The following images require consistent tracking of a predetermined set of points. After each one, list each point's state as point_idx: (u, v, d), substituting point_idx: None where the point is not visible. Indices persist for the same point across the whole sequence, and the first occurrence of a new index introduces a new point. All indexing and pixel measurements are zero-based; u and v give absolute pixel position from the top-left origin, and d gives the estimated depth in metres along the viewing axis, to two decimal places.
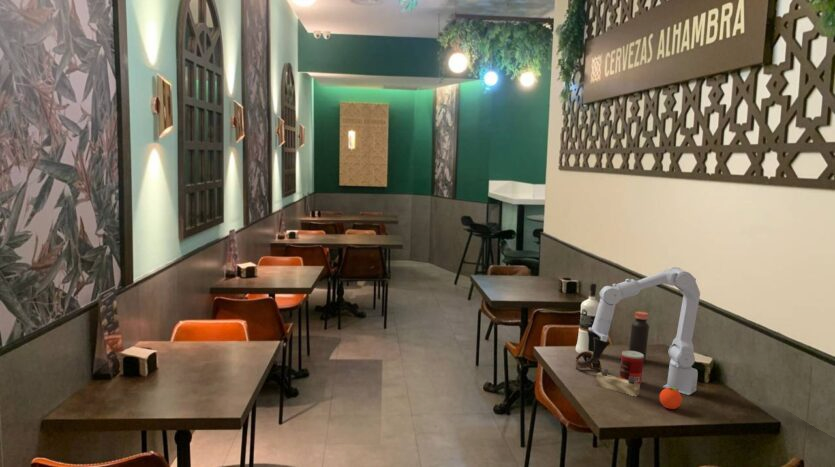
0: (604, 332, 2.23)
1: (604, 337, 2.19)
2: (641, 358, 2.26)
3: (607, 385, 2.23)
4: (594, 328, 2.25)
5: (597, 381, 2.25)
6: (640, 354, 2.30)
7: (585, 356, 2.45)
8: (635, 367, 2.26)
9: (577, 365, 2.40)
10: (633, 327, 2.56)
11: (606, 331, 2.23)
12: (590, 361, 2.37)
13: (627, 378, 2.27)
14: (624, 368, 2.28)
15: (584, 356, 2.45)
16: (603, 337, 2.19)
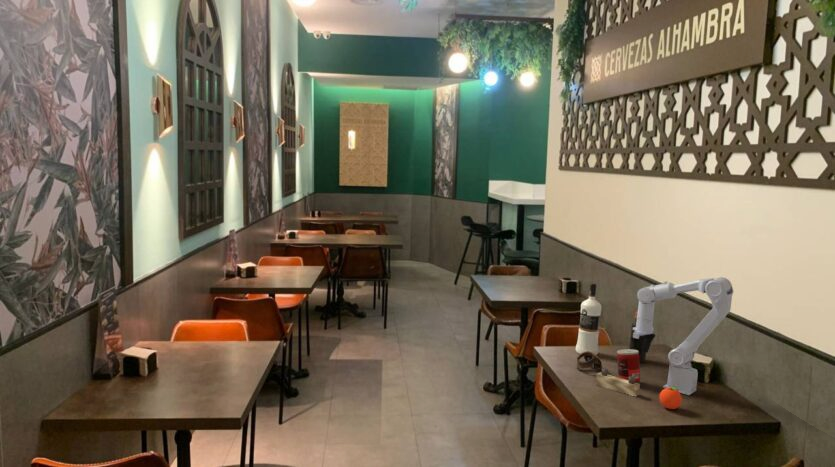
0: (643, 331, 2.32)
1: (635, 334, 2.29)
2: (637, 353, 2.28)
3: (607, 385, 2.23)
4: (636, 327, 2.35)
5: (597, 381, 2.25)
6: (635, 350, 2.31)
7: (586, 356, 2.45)
8: (633, 363, 2.27)
9: (578, 365, 2.40)
10: (633, 327, 2.56)
11: (645, 330, 2.32)
12: (591, 361, 2.37)
13: (627, 376, 2.27)
14: (622, 366, 2.28)
15: (584, 356, 2.45)
16: (634, 334, 2.29)
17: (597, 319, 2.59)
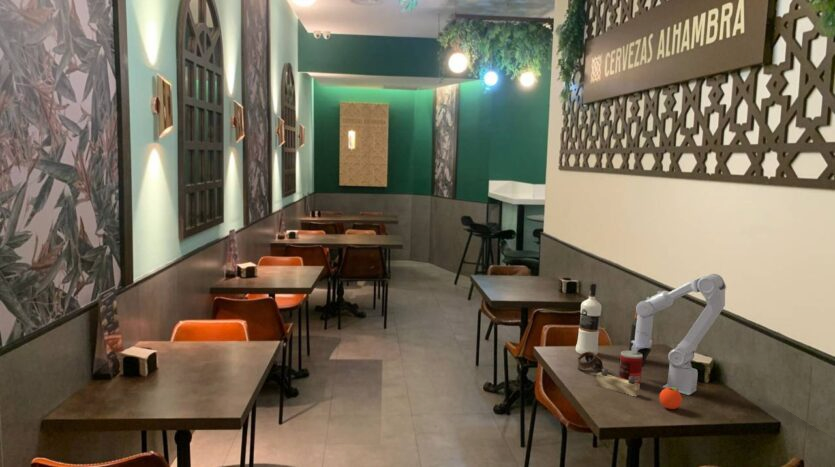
0: (641, 344, 2.32)
1: (633, 348, 2.30)
2: (640, 358, 2.26)
3: (607, 385, 2.23)
4: None
5: (597, 381, 2.25)
6: (639, 353, 2.30)
7: (587, 356, 2.45)
8: (635, 366, 2.26)
9: (579, 365, 2.40)
10: (633, 327, 2.56)
11: (644, 343, 2.32)
12: (592, 361, 2.37)
13: (627, 378, 2.27)
14: (624, 368, 2.27)
15: (585, 356, 2.45)
16: (633, 348, 2.30)
17: (597, 319, 2.59)
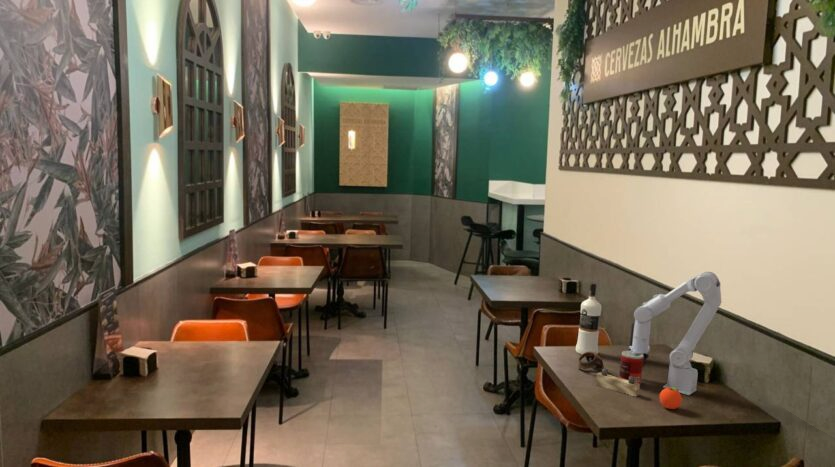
0: (639, 350, 2.31)
1: (631, 353, 2.29)
2: (641, 358, 2.26)
3: (607, 385, 2.23)
4: (632, 346, 2.35)
5: (597, 381, 2.25)
6: (640, 354, 2.30)
7: (588, 357, 2.44)
8: (636, 367, 2.26)
9: (580, 366, 2.40)
10: (633, 327, 2.56)
11: (641, 349, 2.31)
12: (593, 362, 2.37)
13: (627, 378, 2.27)
14: (625, 368, 2.27)
15: (586, 356, 2.44)
16: (630, 353, 2.29)
17: (597, 319, 2.59)
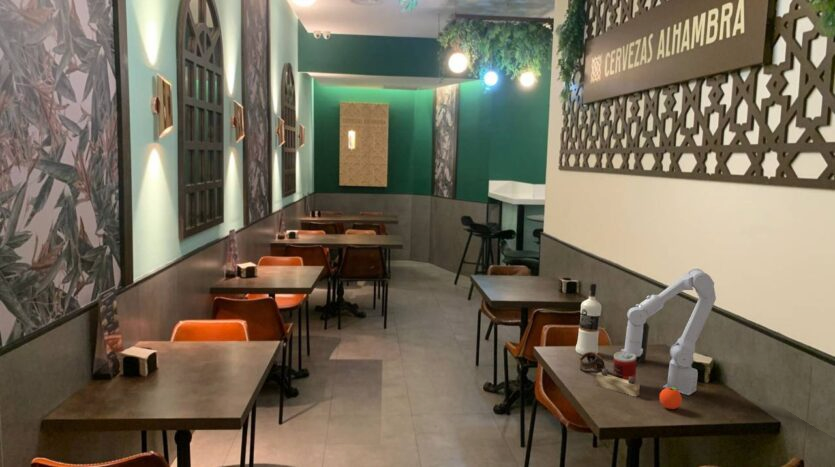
0: None
1: (623, 357, 2.24)
2: (633, 360, 2.22)
3: (607, 385, 2.23)
4: (624, 349, 2.30)
5: (597, 381, 2.25)
6: None
7: (589, 357, 2.44)
8: (628, 370, 2.22)
9: (581, 366, 2.39)
10: None
11: (634, 352, 2.26)
12: (594, 362, 2.36)
13: None
14: (617, 372, 2.24)
15: (587, 357, 2.44)
16: (622, 357, 2.24)
17: (597, 319, 2.59)
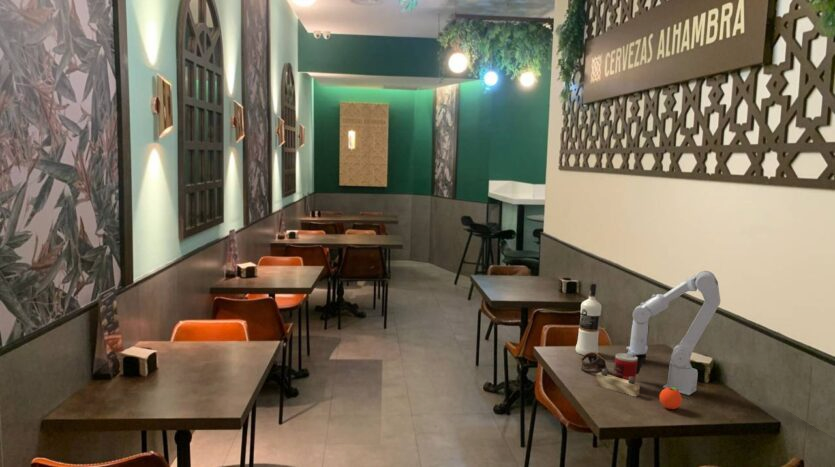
0: (637, 350, 2.30)
1: (629, 354, 2.27)
2: (635, 361, 2.23)
3: (607, 385, 2.23)
4: (629, 347, 2.33)
5: (597, 381, 2.25)
6: (634, 357, 2.26)
7: (590, 357, 2.44)
8: (629, 370, 2.22)
9: (583, 366, 2.39)
10: None
11: (639, 349, 2.29)
12: (596, 362, 2.36)
13: None
14: (618, 371, 2.24)
15: (589, 357, 2.44)
16: (628, 354, 2.27)
17: (597, 319, 2.59)
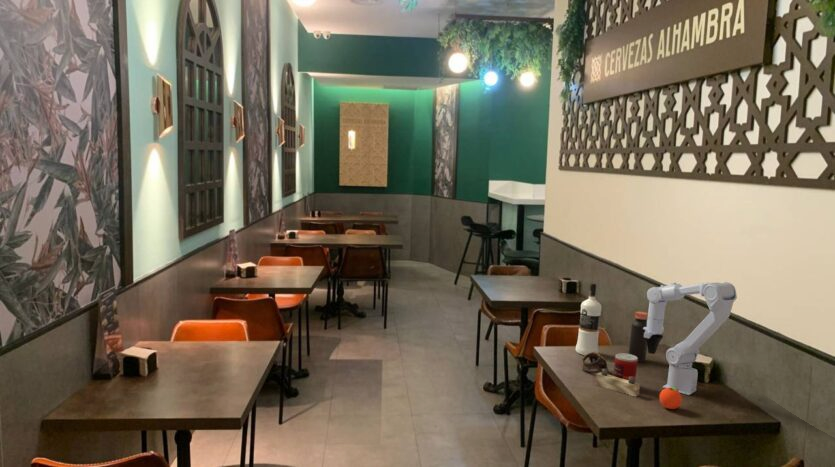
0: (653, 330, 2.33)
1: (646, 334, 2.31)
2: (635, 361, 2.23)
3: (607, 385, 2.23)
4: (646, 327, 2.37)
5: (597, 381, 2.25)
6: (634, 357, 2.26)
7: (591, 357, 2.44)
8: (629, 370, 2.22)
9: (584, 366, 2.39)
10: (633, 327, 2.56)
11: (656, 329, 2.33)
12: (597, 362, 2.36)
13: None
14: (618, 371, 2.24)
15: (590, 357, 2.44)
16: (645, 334, 2.31)
17: (597, 319, 2.59)
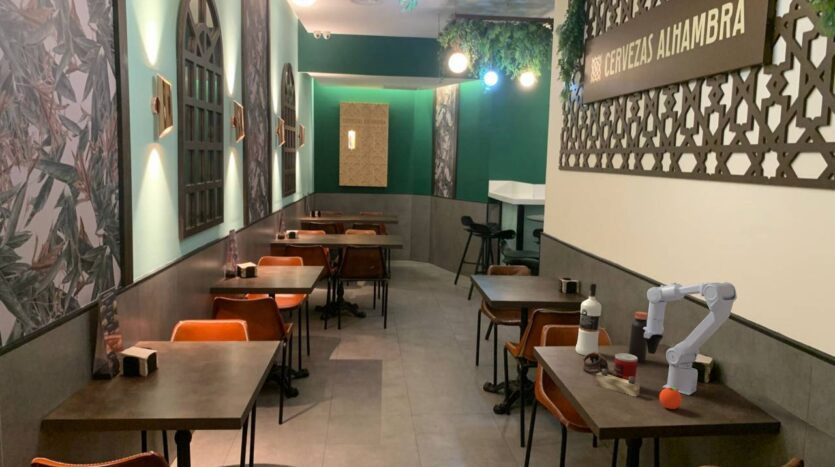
0: (653, 330, 2.33)
1: (646, 334, 2.31)
2: (634, 361, 2.23)
3: (607, 385, 2.23)
4: (646, 327, 2.37)
5: (597, 381, 2.25)
6: (634, 357, 2.26)
7: (592, 357, 2.44)
8: (629, 370, 2.22)
9: (585, 367, 2.39)
10: (633, 327, 2.56)
11: (656, 329, 2.33)
12: (598, 362, 2.36)
13: None
14: (618, 371, 2.24)
15: (590, 357, 2.44)
16: (645, 334, 2.31)
17: (597, 319, 2.59)
